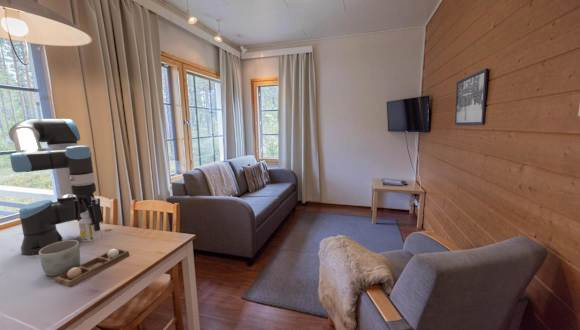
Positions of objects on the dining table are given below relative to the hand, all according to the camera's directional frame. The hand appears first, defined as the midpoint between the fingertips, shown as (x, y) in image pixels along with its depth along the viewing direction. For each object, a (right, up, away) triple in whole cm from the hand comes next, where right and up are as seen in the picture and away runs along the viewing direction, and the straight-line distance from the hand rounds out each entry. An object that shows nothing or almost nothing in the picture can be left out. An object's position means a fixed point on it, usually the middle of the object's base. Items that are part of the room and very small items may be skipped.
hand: (91, 236), depth 104 cm
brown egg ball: (-3, -15, -5) cm, 16 cm away
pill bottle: (0, -1, 0) cm, 1 cm away
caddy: (0, -15, +3) cm, 15 cm away
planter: (-13, -15, +1) cm, 20 cm away
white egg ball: (+3, -13, +10) cm, 16 cm away
